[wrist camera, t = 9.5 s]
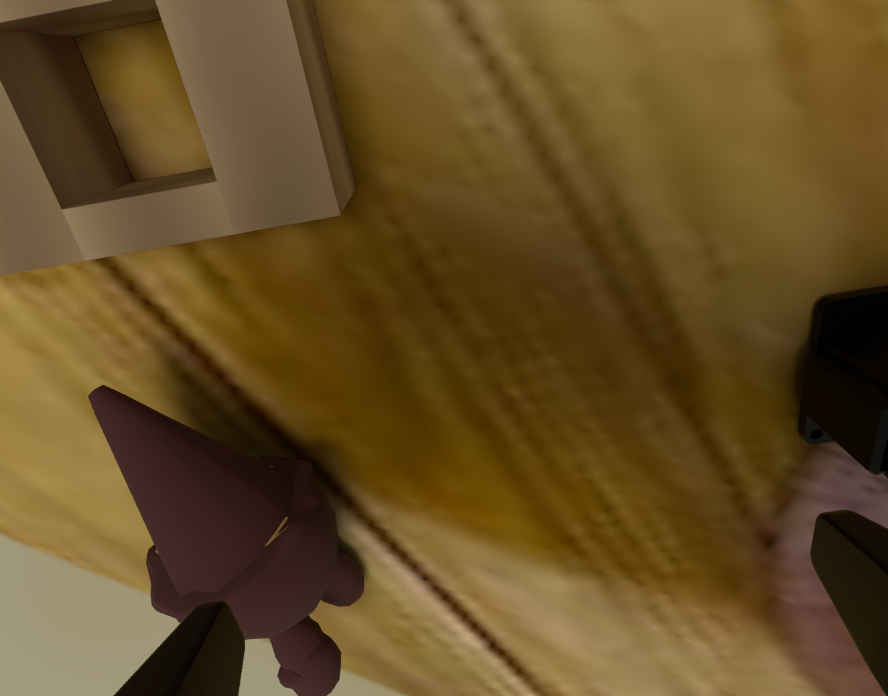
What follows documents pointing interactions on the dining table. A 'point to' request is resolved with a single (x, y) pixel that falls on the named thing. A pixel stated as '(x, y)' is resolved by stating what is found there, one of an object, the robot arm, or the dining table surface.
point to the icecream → (234, 536)
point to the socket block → (217, 114)
